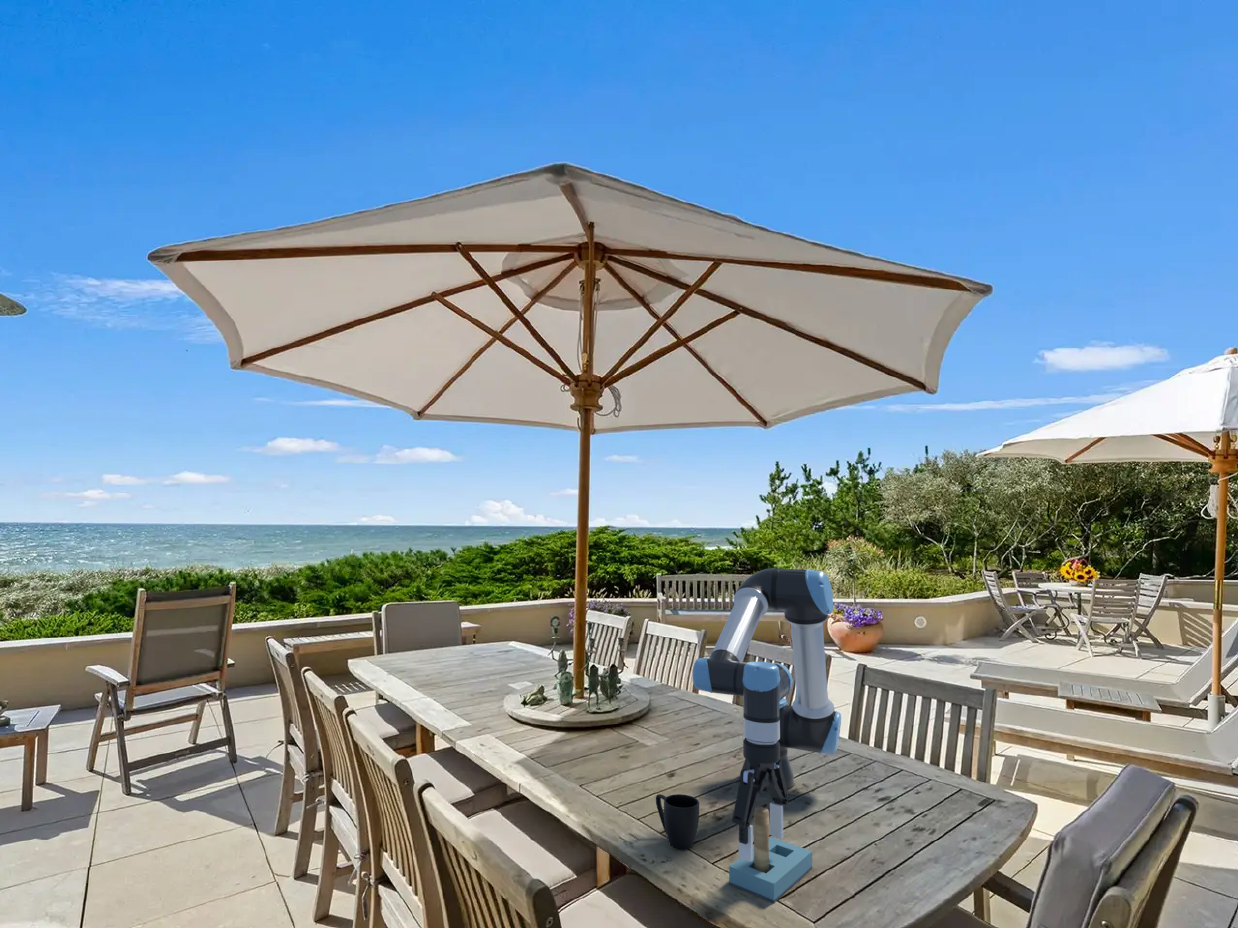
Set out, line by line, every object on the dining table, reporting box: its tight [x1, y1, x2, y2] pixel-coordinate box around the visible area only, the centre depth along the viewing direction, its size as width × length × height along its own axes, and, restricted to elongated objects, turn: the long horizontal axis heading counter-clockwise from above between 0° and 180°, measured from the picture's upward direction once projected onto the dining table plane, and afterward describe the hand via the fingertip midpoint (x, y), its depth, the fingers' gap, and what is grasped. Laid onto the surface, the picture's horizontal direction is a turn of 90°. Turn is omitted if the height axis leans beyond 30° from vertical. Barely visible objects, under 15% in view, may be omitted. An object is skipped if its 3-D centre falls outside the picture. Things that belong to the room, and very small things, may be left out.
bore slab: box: [728, 836, 813, 904], centre depth 134 cm, size 18×10×4 cm, turn 140°
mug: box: [655, 793, 700, 851], centre depth 149 cm, size 8×12×10 cm
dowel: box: [753, 806, 770, 873], centre depth 131 cm, size 3×3×14 cm
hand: (761, 847), depth 131 cm, fingers open, 13 cm apart
